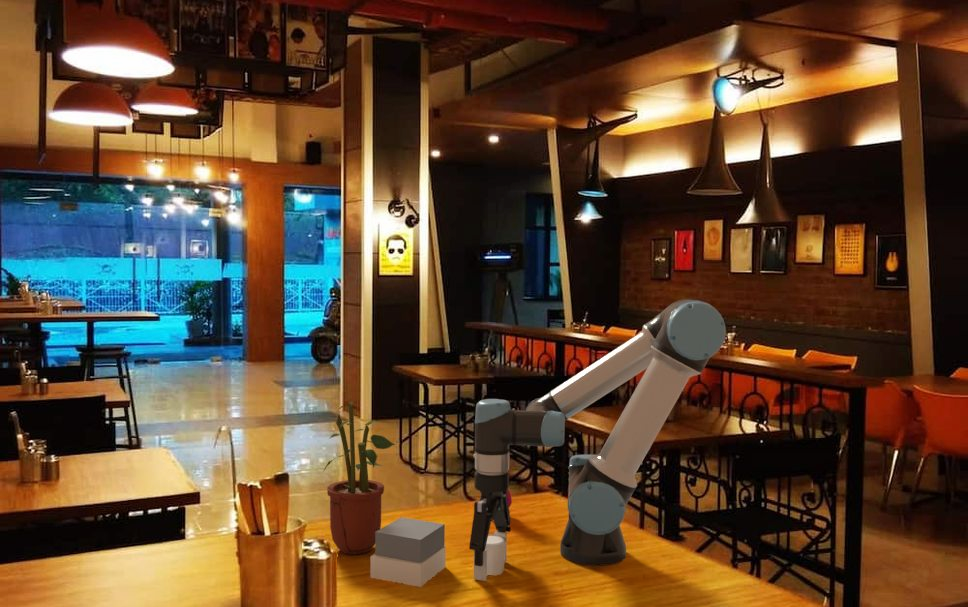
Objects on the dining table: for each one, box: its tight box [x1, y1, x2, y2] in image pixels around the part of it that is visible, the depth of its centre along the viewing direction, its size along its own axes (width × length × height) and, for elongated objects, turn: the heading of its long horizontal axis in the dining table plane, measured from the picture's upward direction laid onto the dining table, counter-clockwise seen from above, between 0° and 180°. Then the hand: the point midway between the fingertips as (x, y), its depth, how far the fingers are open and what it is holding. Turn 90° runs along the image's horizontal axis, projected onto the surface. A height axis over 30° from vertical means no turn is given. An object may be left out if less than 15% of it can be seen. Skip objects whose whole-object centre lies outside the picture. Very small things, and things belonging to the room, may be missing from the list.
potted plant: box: [322, 402, 396, 555], centre depth 188 cm, size 17×16×35 cm
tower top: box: [374, 516, 446, 563], centre depth 173 cm, size 11×11×5 cm
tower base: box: [369, 545, 447, 588], centre depth 173 cm, size 12×12×5 cm
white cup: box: [485, 534, 508, 576], centre depth 174 cm, size 7×7×7 cm
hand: (490, 569), depth 175 cm, fingers open, 11 cm apart
